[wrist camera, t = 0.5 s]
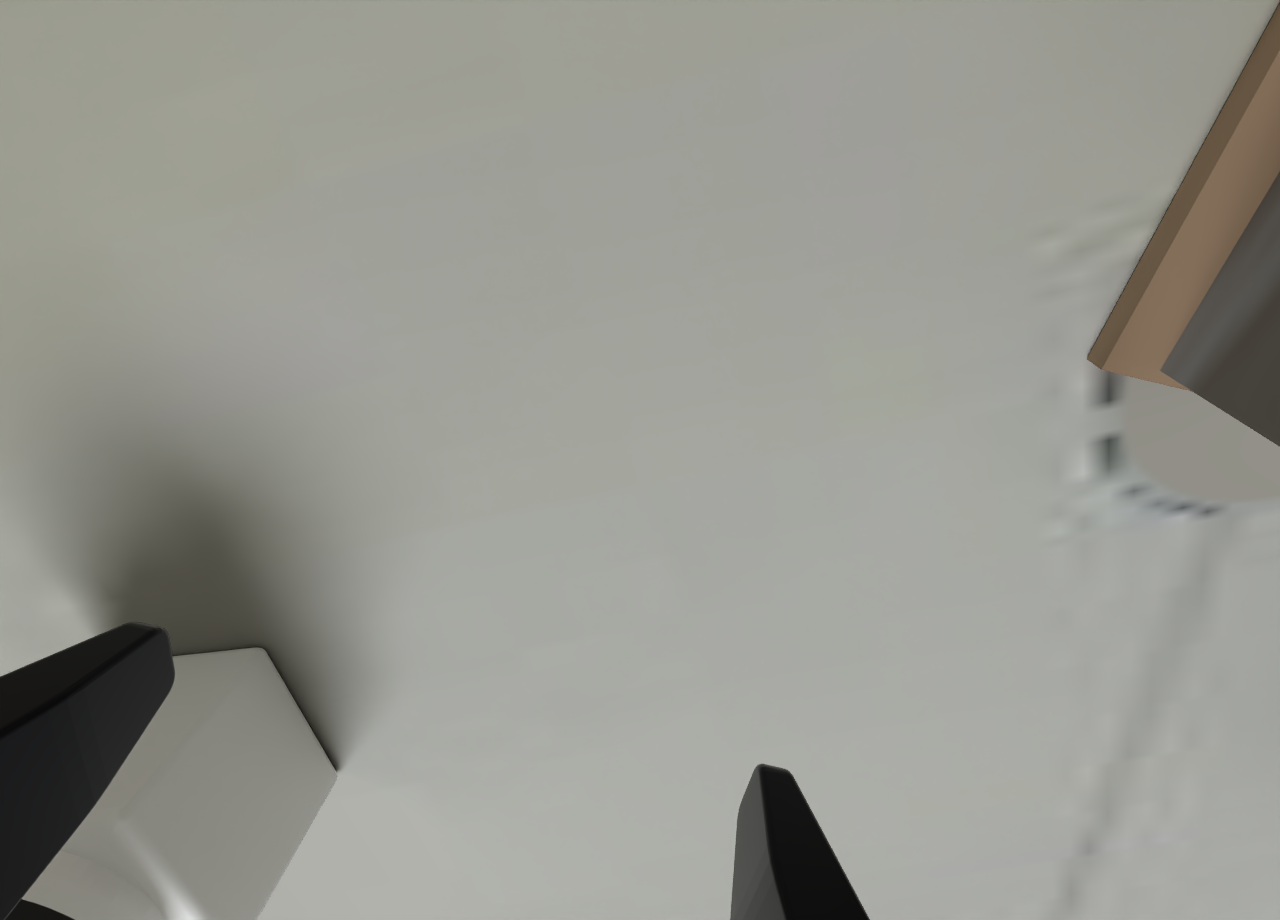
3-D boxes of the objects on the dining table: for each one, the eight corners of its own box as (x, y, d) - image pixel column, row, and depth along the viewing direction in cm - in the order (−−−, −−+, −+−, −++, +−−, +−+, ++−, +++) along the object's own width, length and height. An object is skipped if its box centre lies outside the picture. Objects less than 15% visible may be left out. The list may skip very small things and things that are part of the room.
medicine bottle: (106, 659, 27) (-290, 1019, 17) (266, 642, 26) (-54, 1022, 15) (196, 785, 30) (-91, 1157, 20) (343, 775, 29) (121, 1170, 18)
